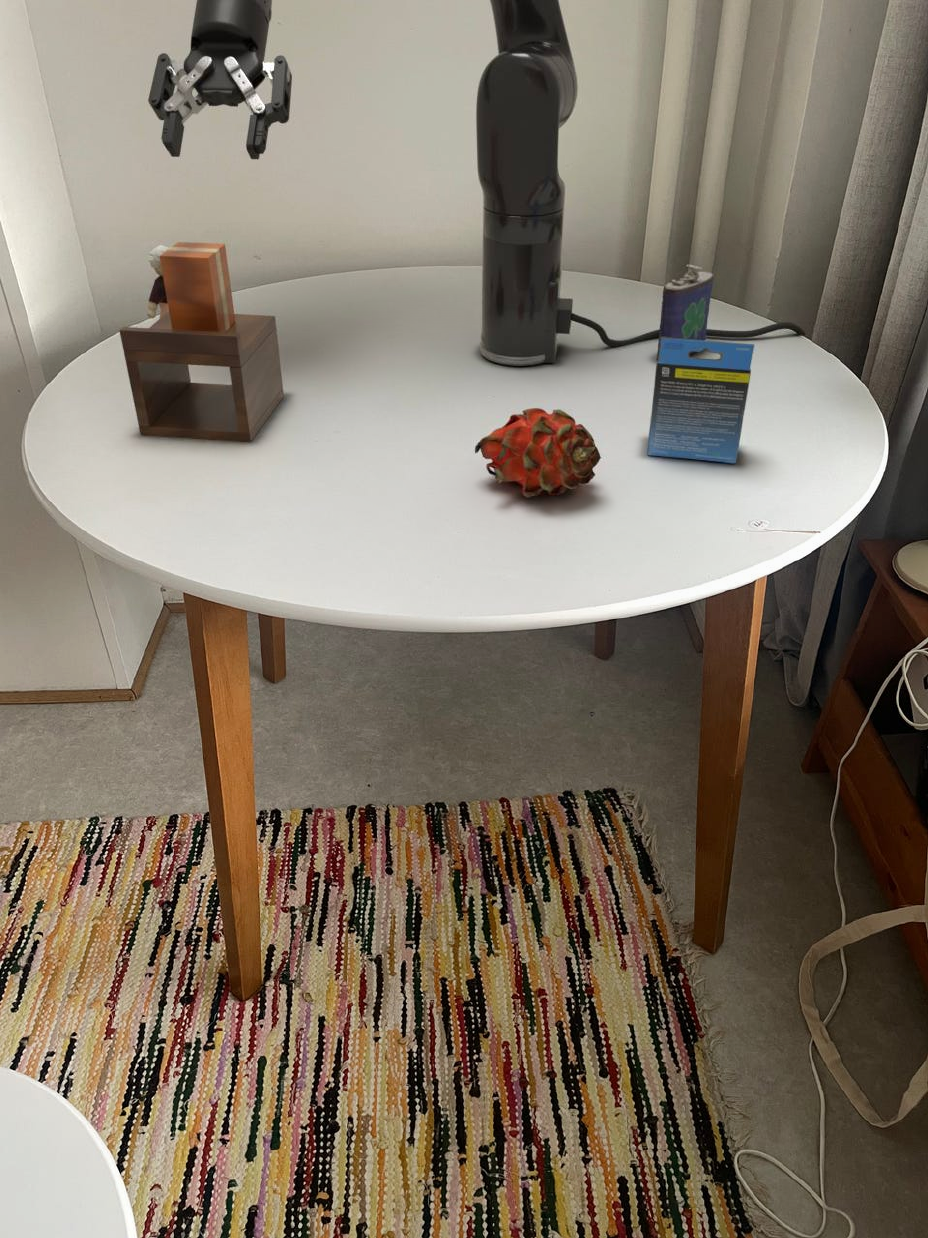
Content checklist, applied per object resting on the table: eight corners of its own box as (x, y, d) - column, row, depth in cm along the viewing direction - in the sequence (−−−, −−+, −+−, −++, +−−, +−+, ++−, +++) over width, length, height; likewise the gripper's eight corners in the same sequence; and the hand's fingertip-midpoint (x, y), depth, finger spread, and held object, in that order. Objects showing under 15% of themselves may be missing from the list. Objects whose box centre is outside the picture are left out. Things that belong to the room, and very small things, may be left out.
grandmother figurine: (180, 362, 121) (162, 255, 114) (151, 360, 122) (131, 253, 114) (206, 340, 127) (190, 237, 120) (178, 338, 128) (160, 235, 120)
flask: (691, 340, 127) (703, 254, 121) (711, 345, 126) (724, 258, 120) (650, 360, 122) (661, 271, 116) (671, 366, 120) (682, 276, 114)
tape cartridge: (736, 448, 102) (756, 330, 95) (735, 465, 99) (757, 344, 92) (648, 439, 104) (662, 322, 96) (645, 456, 101) (659, 336, 93)
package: (236, 321, 106) (225, 243, 101) (220, 337, 102) (208, 257, 97) (190, 319, 106) (177, 241, 102) (172, 335, 102) (158, 255, 98)
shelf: (283, 396, 113) (273, 296, 106) (250, 442, 103) (236, 336, 97) (182, 390, 114) (165, 291, 108) (140, 434, 105) (118, 329, 98)
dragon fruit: (603, 518, 94) (483, 514, 98) (615, 438, 96) (497, 437, 100) (586, 475, 86) (456, 472, 90) (599, 389, 89) (472, 391, 93)
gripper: (154, -17, 102) (130, 127, 99) (289, -15, 100) (268, 131, 98) (181, 38, 109) (160, 173, 107) (308, 40, 107) (289, 177, 105)
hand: (212, 153), depth 102 cm, fingers open, 8 cm apart
